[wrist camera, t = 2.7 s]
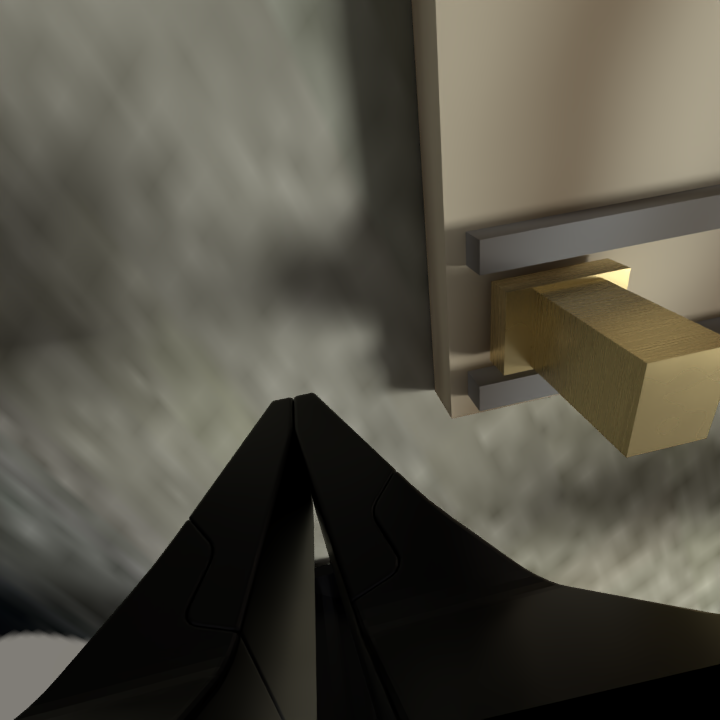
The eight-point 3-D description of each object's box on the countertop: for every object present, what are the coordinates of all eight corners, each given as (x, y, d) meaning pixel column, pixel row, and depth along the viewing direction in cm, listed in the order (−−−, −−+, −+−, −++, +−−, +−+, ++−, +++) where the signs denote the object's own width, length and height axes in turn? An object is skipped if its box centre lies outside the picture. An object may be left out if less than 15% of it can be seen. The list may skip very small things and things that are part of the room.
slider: (489, 360, 12) (589, 470, 8) (490, 281, 10) (607, 367, 7) (595, 337, 12) (738, 434, 8) (607, 258, 11) (779, 329, 7)
